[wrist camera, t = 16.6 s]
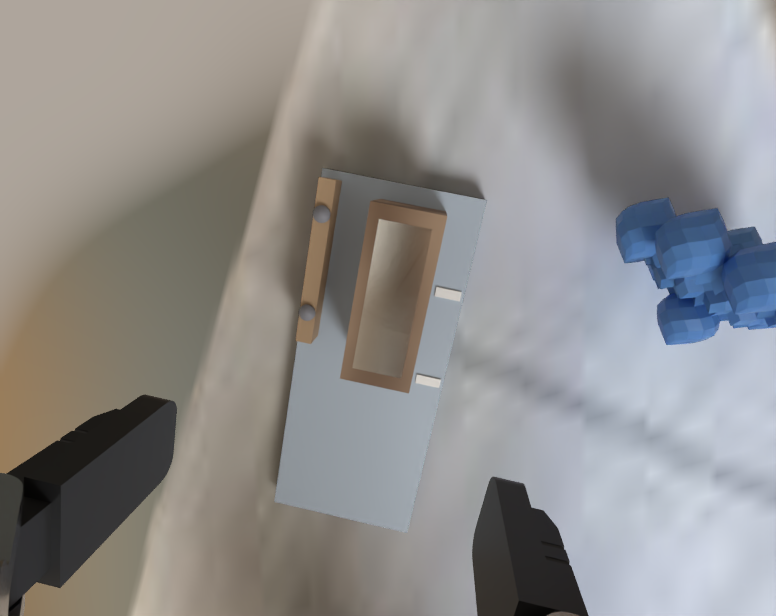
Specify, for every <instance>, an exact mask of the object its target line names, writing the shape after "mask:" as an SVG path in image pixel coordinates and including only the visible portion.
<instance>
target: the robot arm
mask: <svg viewBox="0 0 776 616" xmlns="http://www.w3.org/2000/svg"><path fill="white" fill-rule="evenodd" d="M176 414H177V407H176V404H175V402H174V401H170V400H166V399H162V398H157V397H153V396H148V395H142V396H140V397H138V398H137V399H135V400H134V401H132V402H131V403H130V404H128V405H127V406H125V407H124V408H122V409H121V410H118V409H114V410H112V411H109V412H106V413H103V414H100V415H97V416H94V417H92V418H91V419H89V420H88V421H86V422H84V423H83V424H81V425H80V426H78V427H77V428H76V429H75V431H71V432H69V433H68V434H66V435H65V436H63V437H62V438H61V440H60V441H56V442H54V443H52V444H51V445H49V446H48V447H46V448H45V449H43V450H42V451H40V452H39V453H37V454H36V455H34V456H33V457H31V458H30V459H28V460H27V461H25V462H24V463H22V464H20V465H19V466H17V467H16V468H14V469H13V470H11V471H10V472H8V473H7V474H4V473H0V616H23V613H24V606H25V593H26V592H27V591H28V590H29V589H30V588H31V587H32V586H33V585H34V584H35V583H36V582H38V583H42V584H46V585H50V586H54V587H58V588H61V587H62V585H63V584H64V583H65V582H66V581H67V580H68V579H69V578H70V577H71V576H72V575H73V574H74V573H75V572H76V571H77V570H78V569H79V568H80V567H81V565H82V564H83V563H84V562H85V561H86V560H87V559H88V558H89V557H90V556H91V555H92V554H93V553H94V552H95V550H97V549H98V548H99V547H100V545H101V544H102V543H103V542H104V541H105V540H106V539H107V538H108V537H109V536H110V535H111V534H112V533H113V532H114V531H115V530H116V529H117V528H118V527H119V525H121V523H122V522H123V521H124V520H125V519H126V518H127V517H128V516H129V515H130V514H131V513H132V512H133V511H134V510H135V509H136V508H137V507H138V506H139V505H140V504H141V502H142V501H143V500H144V499H145V498H146V497H147V496H148V495H149V494H150V493H151V492H152V491H153V490H154V489H155V488H156V487H157V485H159V484H160V483H161V481H162V480H163V479H164V477H165V476H166V474H167V472H168V470H169V468H170V465H171V462H172V458H173V450H174V438H175V426H176ZM472 559H473V570H474V581H475V592H476V603H477V614H478V616H588V613H587V610H586V607H585V604H584V602H583V599H582V596H581V593H580V590H579V587H578V584H577V582H576V579H575V576H574V573H573V570H572V567H571V566H570V565H569V559H568V556H567V553H566V550H564V545H563V542H562V539H561V536H560V533H559V530H558V528H557V527H556V525H555V524H554V523H553V522H552V520H551V519H550V518H549V517H548V516H547V514H546V513H545V512H544V511H543V510H539V509H535V508H531V505H530V502H529V498H528V495H527V491H526V488H525V485H524V484H523V483H519V482H514V481H510V480H506V479H501V478H497V477H492V478H491V479H490V481H489V484H488V487H487V491H486V494H485V498H484V501H483V505H482V508H481V512H480V515H479V518H478V522H477V525H476V529H475V533H474V539H473V549H472Z"/></svg>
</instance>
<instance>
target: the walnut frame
mask: <svg viewBox="0 0 776 616" xmlns="http://www.w3.org/2000/svg"><path fill="white" fill-rule="evenodd" d="M446 220H447V213H446V211H441V210H436V209H431V208H426V207H421V206H416V205H411V204H406V203H400V202H395V201H390V200H385V199H377V200H372V201H370V205H369V211H368V217H367V223H366V229H365V234H364V240H363V246H362V252H361V258H360V264H359V269H358V275H357V281H356V287H355V293H354V299H353V305H352V310H351V316H350V322H349V328H348V334H347V340H346V345H345V351H344V357H343V363H342V369H341V375H340V379H344V380H349V381H353V382H358V383H362V384H367V385H372V386H376V387H381V388H385V389H390V390H395V391H399V392H404V393H408V394H409V391H410V386H411V382H412V377H413V373H414V368H415V363H416V359H417V354H418V350H419V345H420V340H421V336H422V331H423V327H424V322H425V317H426V313H427V308H428V303H429V299H430V294H431V290H432V285H433V280H434V276H435V271H436V267H437V262H438V257H439V253H440V248H441V243H442V239H443V234H444V230H445V225H446Z"/></svg>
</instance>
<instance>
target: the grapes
mask: <svg viewBox="0 0 776 616" xmlns="http://www.w3.org/2000/svg"><path fill="white" fill-rule="evenodd" d="M616 238H617V245H618V248H619V250H620V253H621V255H622V258H623V260H624V263H633V262H640V261H645V263H646V265H648V268H649V271H650V273H651V275H652V278H653V280H655V282H656V284H657V287H658V289H659V288H660V289H664V288H667V289H668V291H669V294H670V295H668V296H667V297H666V298H664V299H663V300H662V301H661V302H660V303H659V304H658V305H657V320H658V325H659V327H660V330H661V333H662V335H663V338H664V340H665V343H666V345H674V344H687V343H695V342H699V341H703V340H706V339H708V338H710V337H712V336H714V335H715V333H716V332H717V330H718V328H719V323H720V321H728V320H729V323H730V326H733V328H740V327H748V330H751V329H765V328H774V327H776V242H772V243H767V244H763V243H762V240H761V238H760V236H759V234H758V232H757V230H756V228H755V227H748V228H740V229H735V230H730V231H727V229H726V226H725V223H724V220H723V218H722V216H721V214H720V212H719V210H718V208H715V209H708V210H701V211H695V212H690V213H686V214H682V215H679V216H676V214H675V211H674V208H673V206H672V204H671V202H670V200H669V198H662V199H656V200H650V201H645V202H640V203H637V204H635V205H632V206H629V207H627V208H626V209H625V210H623V211H622V212H621V213H620V215H619V216H618V217H617V218H616Z"/></svg>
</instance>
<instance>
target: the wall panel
mask: <svg viewBox="0 0 776 616" xmlns="http://www.w3.org/2000/svg"><path fill="white" fill-rule="evenodd" d="M377 199H385V200H390V201H395V202H400V203H406V204H411V205H416V206H421V207H426V208H431V209H436V210H441V211H446V213H447V220H446V225H445V230H444V234H443V239H442V243H441V248H440V253H439V257H438V262H437V267H436V271H435V276H434V280H433V285H432V290H431V294H430V299H429V303H428V308H427V313H426V317H425V322H424V327H423V331H422V336H421V340H420V345H419V350H418V354H417V359H416V363H415V368H414V373H413V377H412V382H411V386H410V391H409V394H408V393H404V392H399V391H395V390H390V389H385V388H381V387H376V386H372V385H367V384H362V383H358V382H353V381H349V380H344V379H340V375H341V369H342V363H343V357H344V351H345V345H346V340H347V334H348V328H349V322H350V316H351V310H352V305H353V299H354V293H355V287H356V281H357V275H358V269H359V264H360V258H361V252H362V246H363V240H364V234H365V229H366V223H367V217H368V211H369V205H370V201H372V200H377ZM486 203H487V200H484V199H479V198H473V197H468V196H463V195H458V194H453V193H448V192H443V191H438V190H433V189H428V188H423V187H417V186H412V185H407V184H402V183H397V182H392V181H387V180H382V179H377V178H372V177H367V176H361V175H356V174H351V173H346V172H341V171H336V170H331V169H325V168H322V175H321V177H319V179H318V186H317V193H316V200H315V207H314V210H313V221H312V228H311V235H310V242H309V249H308V256H307V263H306V270H305V277H304V284H303V291H302V298H301V305H300V309H299V319H298V326H297V333H296V340H295V341H298V342H297V349H296V356H295V363H294V369H293V376H292V383H291V390H290V397H289V404H288V411H287V418H286V425H285V432H284V439H283V446H282V453H281V460H280V467H279V474H278V480H277V487H276V494H275V501H274V502H277V503H281V504H286V505H290V506H294V507H298V508H303V509H307V510H311V511H315V512H320V513H324V514H328V515H332V516H337V517H341V518H345V519H349V520H354V521H358V522H362V523H366V524H371V525H375V526H379V527H383V528H388V529H392V530H396V531H400V532H405V533H407V532H408V528H409V524H410V519H411V515H412V511H413V507H414V503H415V499H416V494H417V490H418V486H419V482H420V478H421V474H422V469H423V465H424V461H425V457H426V453H427V449H428V444H429V440H430V436H431V432H432V428H433V424H434V419H435V415H436V411H437V407H438V403H439V399H440V394H441V390H442V386H443V382H444V378H445V374H446V369H447V365H448V361H449V357H450V353H451V349H452V344H453V340H454V336H455V332H456V328H457V324H458V319H459V315H460V311H461V307H462V303H463V299H464V294H465V290H466V286H467V282H468V278H469V274H470V269H471V265H472V261H473V257H474V253H475V249H476V244H477V240H478V236H479V232H480V228H481V224H482V219H483V215H484V211H485V207H486Z"/></svg>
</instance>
